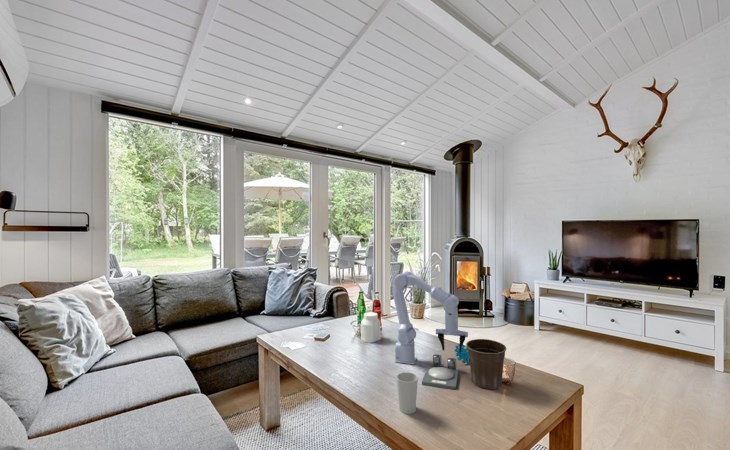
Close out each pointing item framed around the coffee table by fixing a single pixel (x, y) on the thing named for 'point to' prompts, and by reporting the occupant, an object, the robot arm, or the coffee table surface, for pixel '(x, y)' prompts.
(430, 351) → the coffee table surface
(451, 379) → the scale
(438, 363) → the spacer
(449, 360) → the cylinder
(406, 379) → the cup
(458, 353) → the gear
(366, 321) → the jar
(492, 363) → the plant pot
